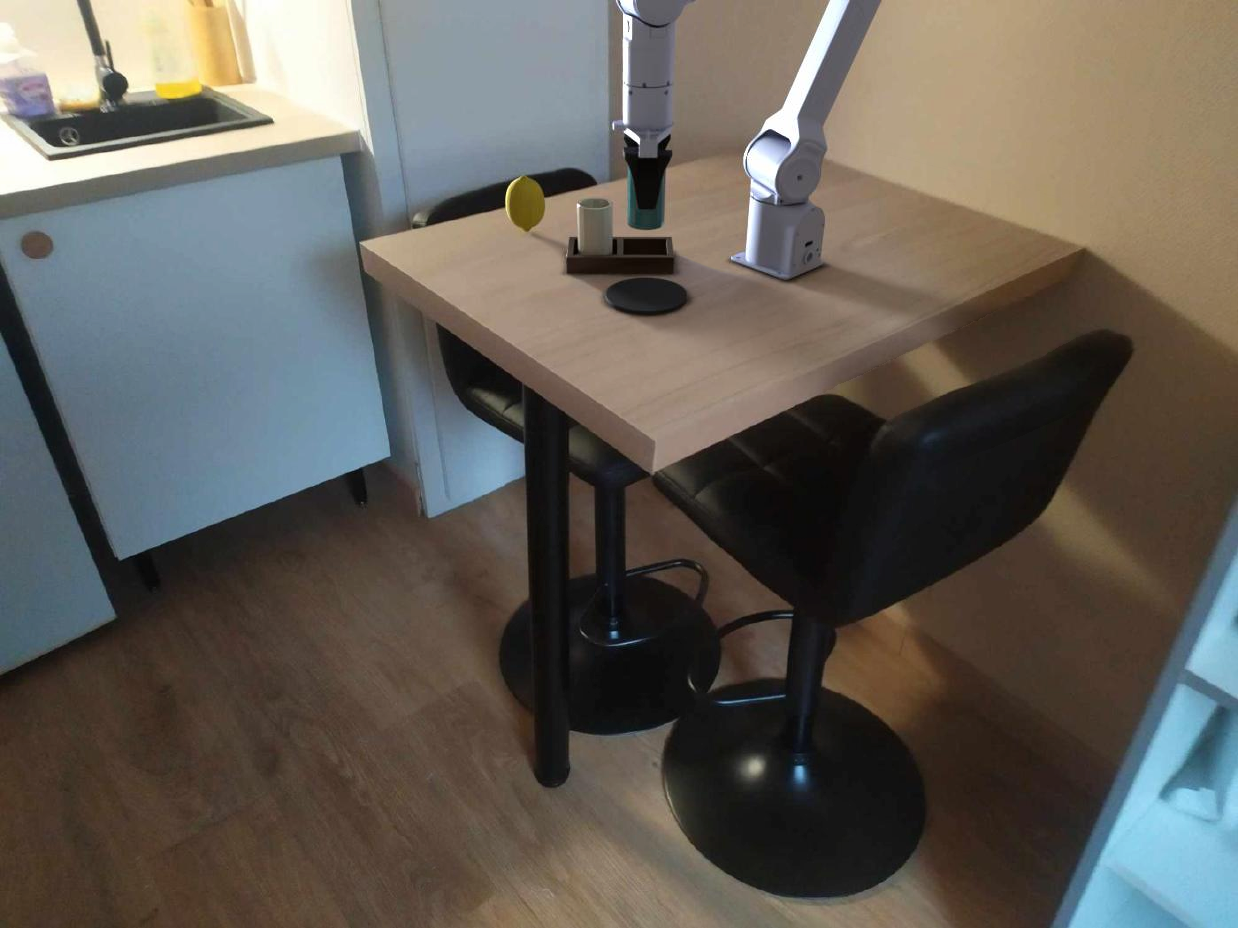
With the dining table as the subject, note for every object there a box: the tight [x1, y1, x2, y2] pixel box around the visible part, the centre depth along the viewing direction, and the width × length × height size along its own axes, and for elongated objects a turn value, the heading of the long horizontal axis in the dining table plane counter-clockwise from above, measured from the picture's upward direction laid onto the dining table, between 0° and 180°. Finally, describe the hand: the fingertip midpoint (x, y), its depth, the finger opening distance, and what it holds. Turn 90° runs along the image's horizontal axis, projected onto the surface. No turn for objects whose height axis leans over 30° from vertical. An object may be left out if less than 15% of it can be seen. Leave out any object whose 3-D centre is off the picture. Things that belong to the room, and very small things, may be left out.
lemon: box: [505, 174, 546, 233], centre depth 130 cm, size 6×6×8 cm
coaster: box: [605, 276, 688, 316], centre depth 113 cm, size 10×10×1 cm
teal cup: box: [627, 166, 667, 231], centre depth 111 cm, size 4×4×8 cm
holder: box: [565, 236, 675, 274], centre depth 122 cm, size 7×14×2 cm, turn 90°
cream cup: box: [576, 197, 614, 255], centre depth 120 cm, size 4×4×8 cm
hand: (646, 201), depth 112 cm, fingers closed on teal cup, 4 cm apart
